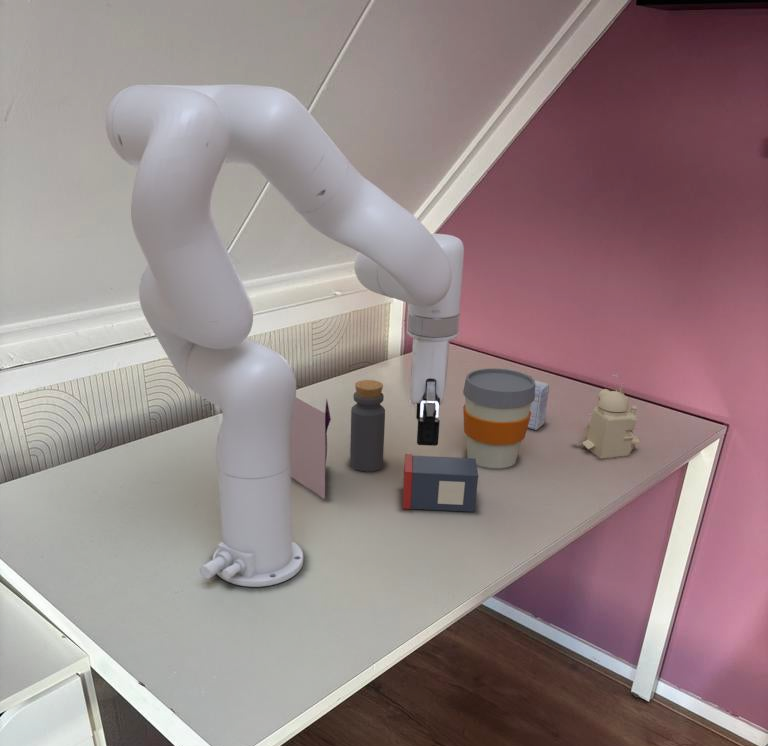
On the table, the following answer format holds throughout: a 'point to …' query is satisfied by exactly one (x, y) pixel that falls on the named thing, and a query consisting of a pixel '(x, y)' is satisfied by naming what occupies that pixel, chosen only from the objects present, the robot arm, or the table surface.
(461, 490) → the red-lidded grey box
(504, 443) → the reusable coffee cup
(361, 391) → the bottle
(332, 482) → the table surface
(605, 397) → the robot
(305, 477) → the greeting card
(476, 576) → the table surface
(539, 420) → the medicine box
